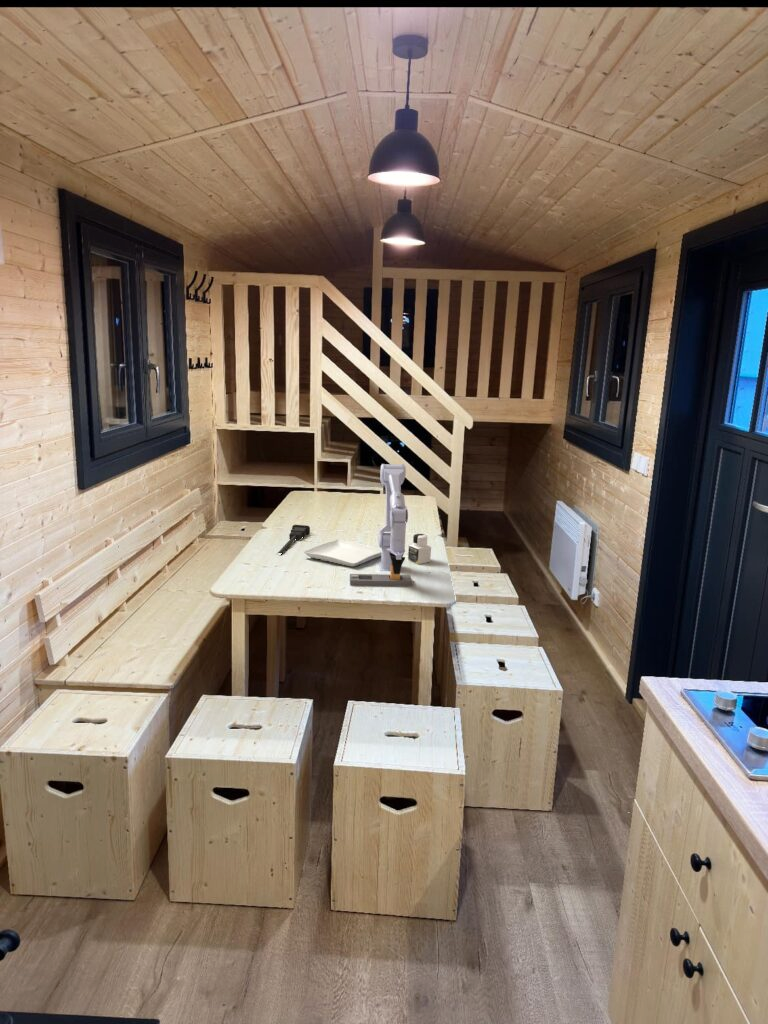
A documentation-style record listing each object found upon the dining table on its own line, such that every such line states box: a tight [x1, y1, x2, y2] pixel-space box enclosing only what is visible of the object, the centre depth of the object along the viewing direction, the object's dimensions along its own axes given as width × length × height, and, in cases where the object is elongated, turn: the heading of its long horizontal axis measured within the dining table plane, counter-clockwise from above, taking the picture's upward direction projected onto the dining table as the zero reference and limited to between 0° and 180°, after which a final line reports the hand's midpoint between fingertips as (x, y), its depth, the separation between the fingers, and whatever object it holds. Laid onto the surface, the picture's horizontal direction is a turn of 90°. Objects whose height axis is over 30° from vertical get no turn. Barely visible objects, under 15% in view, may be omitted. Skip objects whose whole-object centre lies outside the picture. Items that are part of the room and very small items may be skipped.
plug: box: [389, 560, 401, 580], centre depth 277 cm, size 4×4×8 cm
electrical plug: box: [277, 524, 311, 554], centre depth 330 cm, size 9×42×5 cm, turn 172°
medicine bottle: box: [407, 533, 432, 565], centre depth 308 cm, size 7×7×12 cm
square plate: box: [302, 539, 382, 568], centre depth 311 cm, size 27×27×4 cm
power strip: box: [349, 573, 413, 587], centre depth 278 cm, size 8×24×3 cm, turn 94°
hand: (396, 572), depth 278 cm, fingers closed on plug, 3 cm apart
